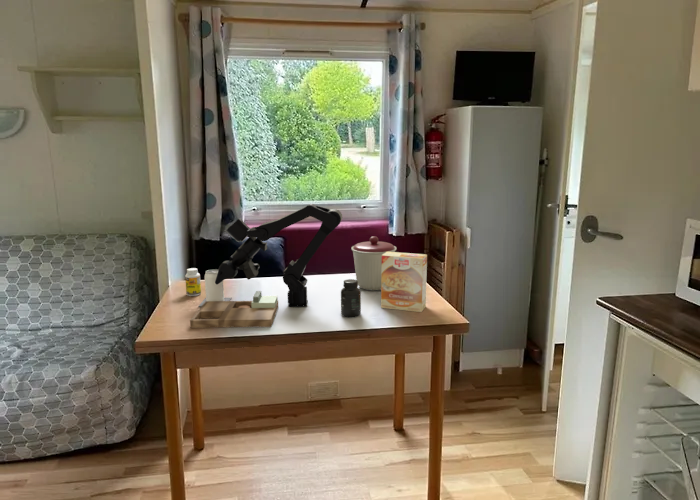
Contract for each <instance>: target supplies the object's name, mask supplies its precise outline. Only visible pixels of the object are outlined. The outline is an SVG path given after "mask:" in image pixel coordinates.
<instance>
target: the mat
mask: <svg viewBox="0 0 700 500" xmlns="http://www.w3.org/2000/svg"><path fill="white" fill-rule="evenodd" d="M230 300H231V301H232V300H233V299H232V297H224V301H230ZM205 302H206V297H204V299H203V300H202V302H200V304H199V305H198V308H201V307H202V305H203V304H204V303H205Z"/></svg>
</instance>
